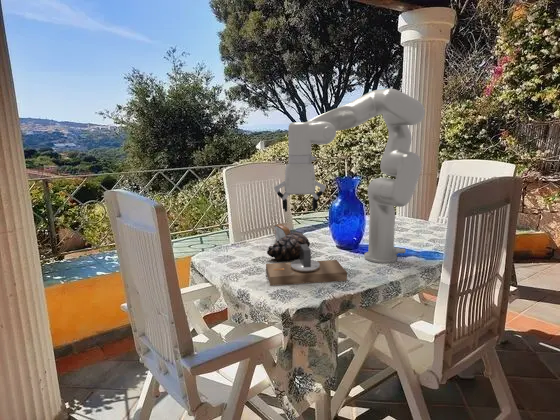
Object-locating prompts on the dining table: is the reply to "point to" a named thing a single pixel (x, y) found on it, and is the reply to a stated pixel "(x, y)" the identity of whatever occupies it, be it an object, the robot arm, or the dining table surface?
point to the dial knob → (305, 261)
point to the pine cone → (287, 247)
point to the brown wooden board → (305, 273)
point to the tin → (281, 231)
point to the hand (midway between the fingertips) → (299, 210)
